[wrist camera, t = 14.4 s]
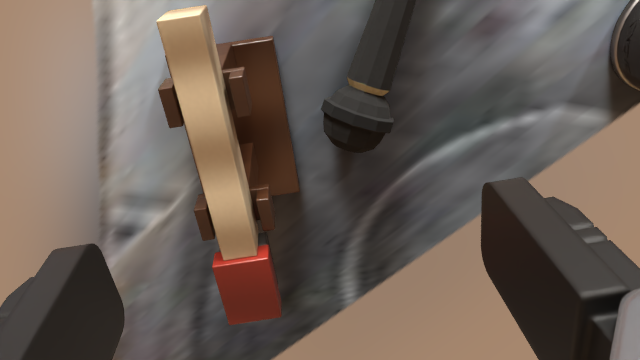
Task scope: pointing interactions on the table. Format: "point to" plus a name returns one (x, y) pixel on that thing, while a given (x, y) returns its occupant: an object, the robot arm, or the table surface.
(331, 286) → the table surface
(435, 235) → the table surface
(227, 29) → the table surface
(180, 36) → the brush
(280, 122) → the rack
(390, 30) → the microphone
